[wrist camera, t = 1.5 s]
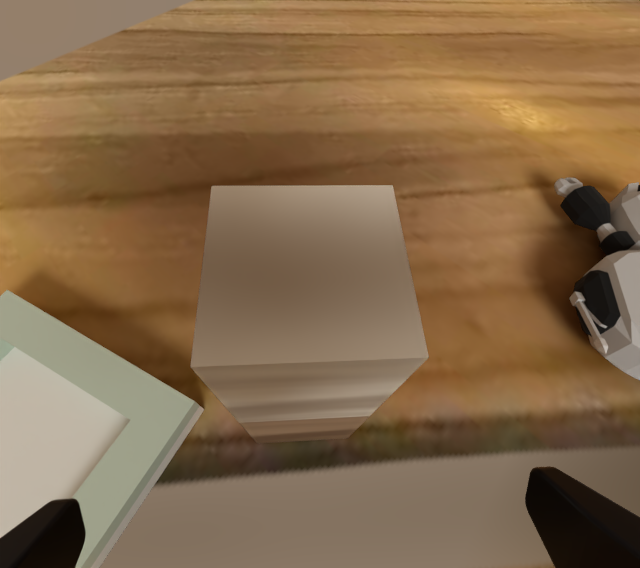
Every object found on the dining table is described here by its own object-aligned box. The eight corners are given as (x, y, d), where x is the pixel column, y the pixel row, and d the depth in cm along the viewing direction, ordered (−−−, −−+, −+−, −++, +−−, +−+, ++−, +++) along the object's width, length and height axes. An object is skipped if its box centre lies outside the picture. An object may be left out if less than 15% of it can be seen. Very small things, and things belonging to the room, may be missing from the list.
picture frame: (2, 714, 13) (-43, 749, 11) (-204, 530, 15) (-268, 535, 14) (204, 409, 19) (194, 401, 17) (31, 306, 21) (7, 289, 19)
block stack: (347, 438, 18) (428, 357, 7) (257, 443, 18) (190, 366, 7) (340, 352, 21) (392, 185, 9) (259, 355, 20) (211, 185, 9)
